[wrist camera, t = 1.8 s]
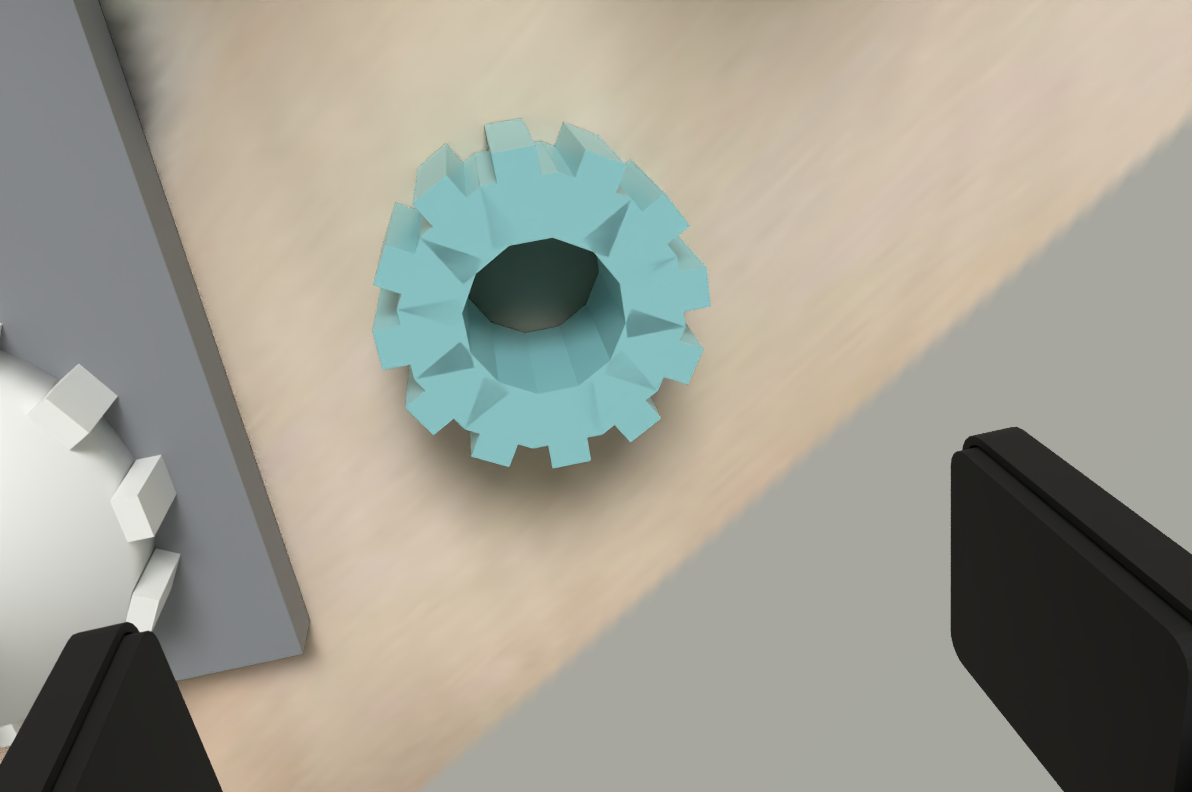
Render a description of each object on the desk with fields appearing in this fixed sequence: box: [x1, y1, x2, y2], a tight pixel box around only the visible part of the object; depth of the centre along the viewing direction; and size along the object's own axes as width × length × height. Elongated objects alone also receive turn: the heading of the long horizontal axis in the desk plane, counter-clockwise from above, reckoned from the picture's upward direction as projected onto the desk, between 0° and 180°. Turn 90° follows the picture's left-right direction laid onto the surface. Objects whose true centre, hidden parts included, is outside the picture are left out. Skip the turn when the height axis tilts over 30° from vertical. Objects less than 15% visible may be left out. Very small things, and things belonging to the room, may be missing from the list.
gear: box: [372, 118, 711, 468], centre depth 22 cm, size 7×7×4 cm
